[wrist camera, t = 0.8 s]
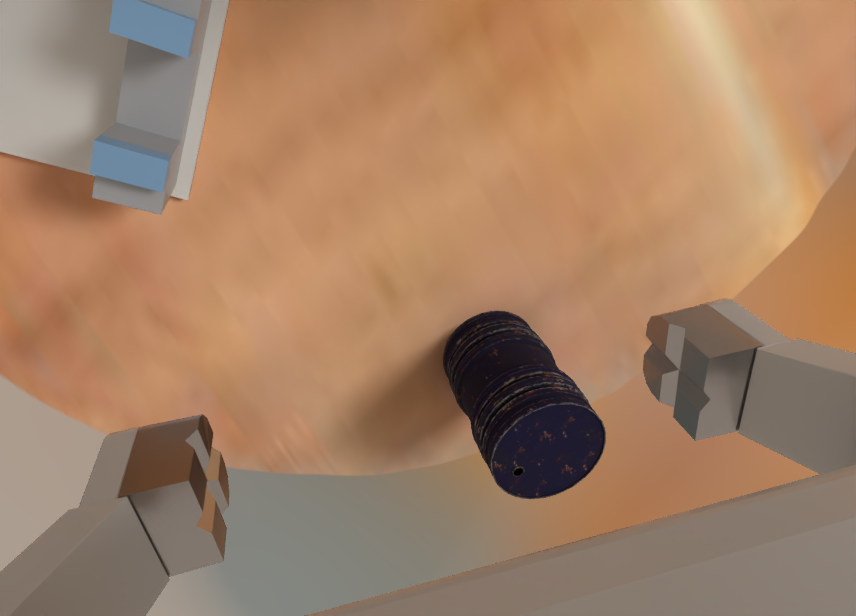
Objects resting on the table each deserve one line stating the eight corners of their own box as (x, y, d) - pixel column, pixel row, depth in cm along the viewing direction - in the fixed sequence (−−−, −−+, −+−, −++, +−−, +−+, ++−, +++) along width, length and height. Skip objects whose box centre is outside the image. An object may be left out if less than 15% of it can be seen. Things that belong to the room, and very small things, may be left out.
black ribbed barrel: (511, 291, 56) (581, 379, 44) (550, 359, 61) (623, 456, 49) (423, 346, 57) (467, 449, 44) (469, 409, 62) (520, 518, 49)
